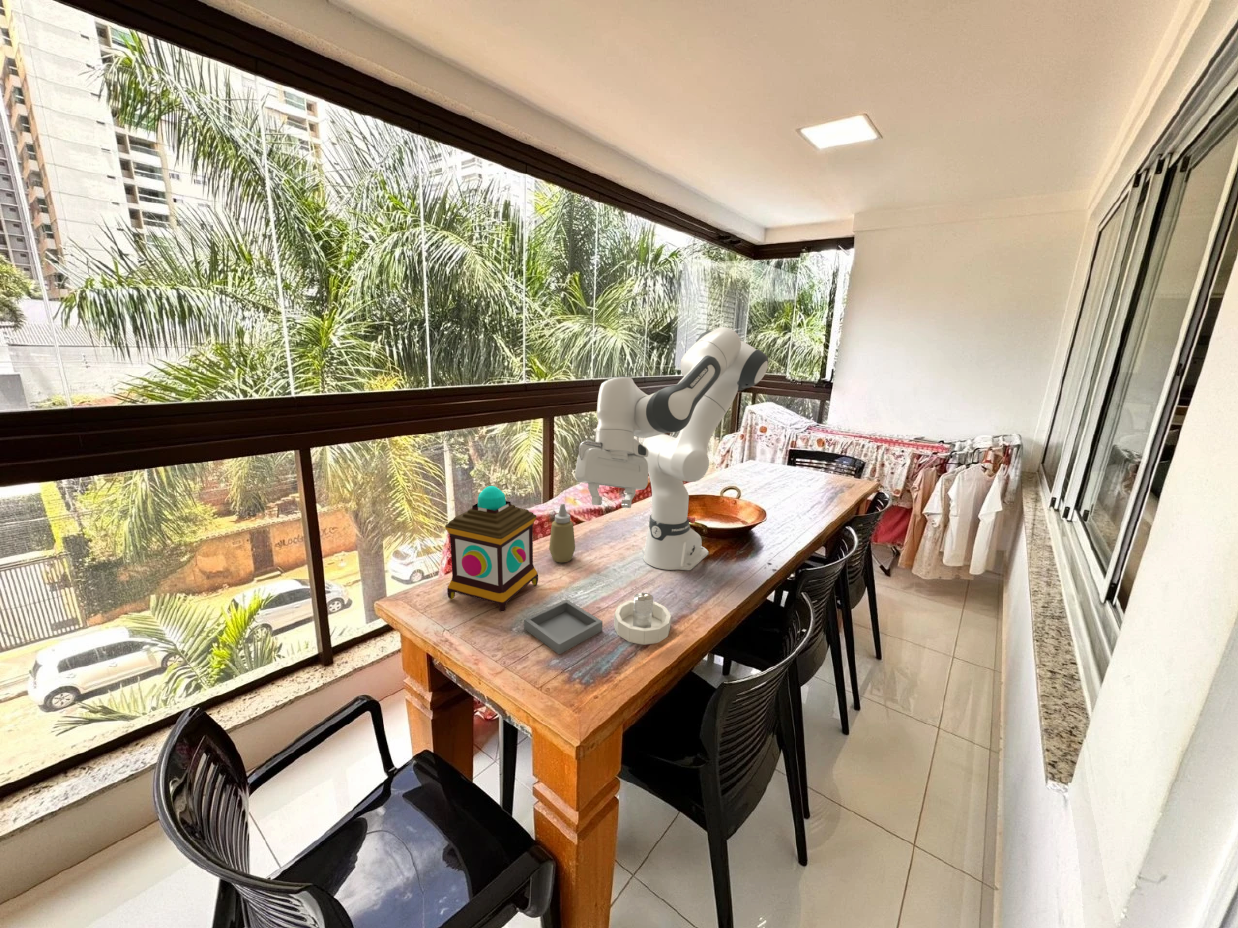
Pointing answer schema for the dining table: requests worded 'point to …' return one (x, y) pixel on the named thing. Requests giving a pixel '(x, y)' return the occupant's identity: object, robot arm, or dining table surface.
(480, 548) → the decorative lantern
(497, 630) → the dining table surface
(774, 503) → the dining table surface
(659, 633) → the bowl
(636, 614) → the pebble cup
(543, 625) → the tray
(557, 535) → the squeeze bottle
